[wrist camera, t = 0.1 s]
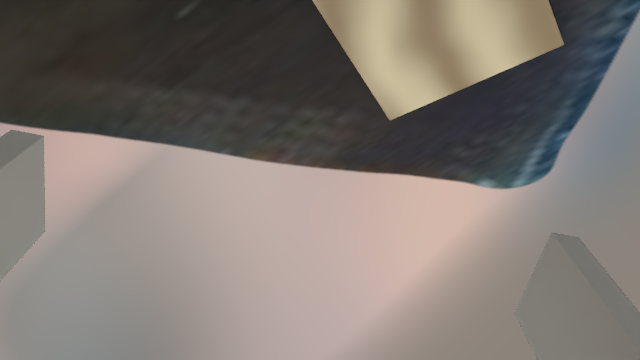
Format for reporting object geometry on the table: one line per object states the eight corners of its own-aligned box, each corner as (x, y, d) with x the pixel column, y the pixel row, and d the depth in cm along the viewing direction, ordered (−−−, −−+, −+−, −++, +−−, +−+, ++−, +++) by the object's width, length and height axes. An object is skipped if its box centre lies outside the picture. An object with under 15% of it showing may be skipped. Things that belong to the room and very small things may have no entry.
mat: (495, -148, 31) (496, -146, 31) (561, 40, 39) (564, 44, 39) (297, -28, 37) (296, -25, 37) (389, 116, 45) (389, 120, 44)
